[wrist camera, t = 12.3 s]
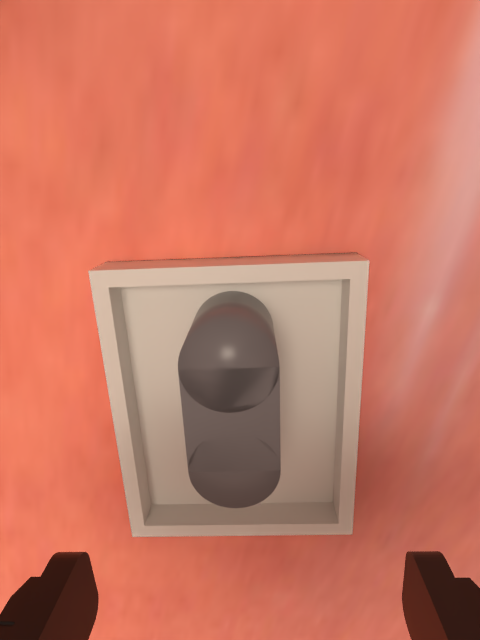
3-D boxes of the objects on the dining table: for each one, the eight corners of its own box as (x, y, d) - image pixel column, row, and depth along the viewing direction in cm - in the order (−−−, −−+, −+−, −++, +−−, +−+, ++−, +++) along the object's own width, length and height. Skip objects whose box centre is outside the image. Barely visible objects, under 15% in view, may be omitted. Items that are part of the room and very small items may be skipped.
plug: (272, 289, 17) (279, 318, 13) (275, 467, 20) (281, 532, 16) (190, 292, 17) (173, 321, 13) (204, 468, 20) (194, 533, 16)
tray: (356, 252, 17) (369, 260, 15) (343, 503, 21) (352, 534, 19) (105, 261, 18) (88, 270, 16) (142, 506, 22) (132, 537, 20)
